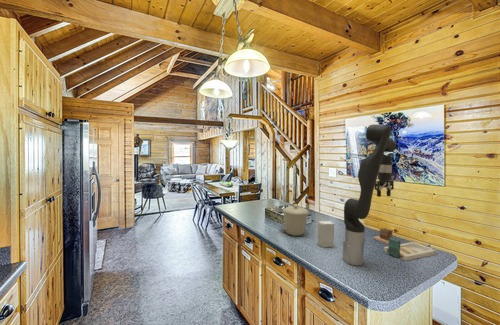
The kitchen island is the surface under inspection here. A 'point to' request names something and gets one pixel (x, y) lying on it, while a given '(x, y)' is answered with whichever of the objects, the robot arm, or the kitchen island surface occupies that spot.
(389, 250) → the l-shaped stand
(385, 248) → the cream tray
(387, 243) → the plate
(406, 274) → the kitchen island surface
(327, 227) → the skincare box
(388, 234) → the block
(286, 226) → the canister
